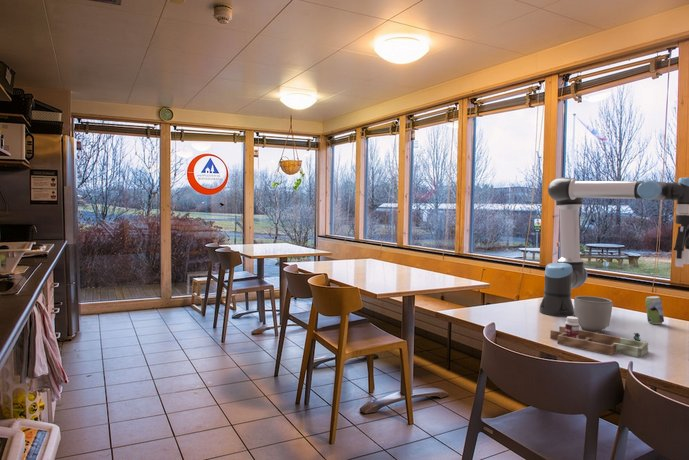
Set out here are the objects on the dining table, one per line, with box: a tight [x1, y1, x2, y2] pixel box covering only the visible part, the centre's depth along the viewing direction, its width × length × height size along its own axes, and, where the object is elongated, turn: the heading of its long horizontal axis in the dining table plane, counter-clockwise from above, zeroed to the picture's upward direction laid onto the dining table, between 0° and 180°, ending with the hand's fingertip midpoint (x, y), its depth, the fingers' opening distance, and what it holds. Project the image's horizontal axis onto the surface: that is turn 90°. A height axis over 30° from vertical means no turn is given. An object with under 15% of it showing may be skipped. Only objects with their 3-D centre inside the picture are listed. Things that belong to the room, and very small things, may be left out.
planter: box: [573, 295, 613, 333], centre depth 193 cm, size 14×14×13 cm
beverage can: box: [644, 295, 665, 325], centre depth 208 cm, size 6×7×12 cm
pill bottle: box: [564, 316, 580, 339], centre depth 179 cm, size 5×5×8 cm
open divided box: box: [549, 325, 649, 358], centre depth 171 cm, size 30×15×3 cm, turn 46°
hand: (683, 265), depth 198 cm, fingers open, 13 cm apart
